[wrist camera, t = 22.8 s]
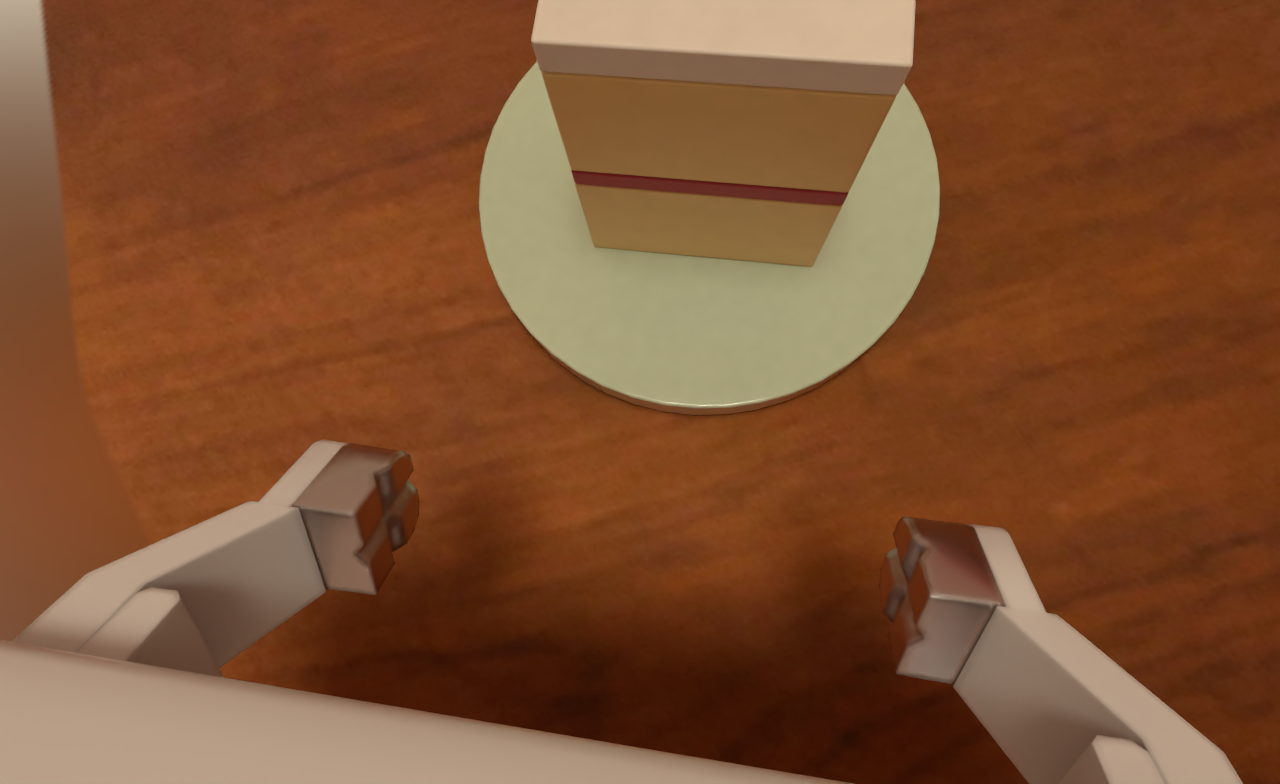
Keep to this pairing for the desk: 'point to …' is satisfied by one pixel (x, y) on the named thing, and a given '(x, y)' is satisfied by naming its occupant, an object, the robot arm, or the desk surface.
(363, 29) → the desk surface
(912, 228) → the plate
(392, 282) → the desk surface
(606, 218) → the cake slice
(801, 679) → the desk surface
